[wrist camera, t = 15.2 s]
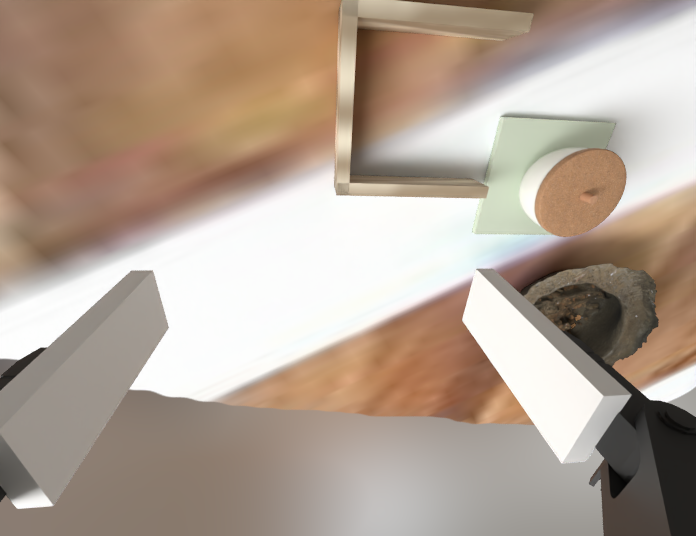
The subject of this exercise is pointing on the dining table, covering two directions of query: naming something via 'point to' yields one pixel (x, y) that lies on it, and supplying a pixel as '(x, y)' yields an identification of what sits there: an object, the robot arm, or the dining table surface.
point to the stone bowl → (599, 307)
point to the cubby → (410, 17)
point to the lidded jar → (572, 189)
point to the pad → (527, 167)
